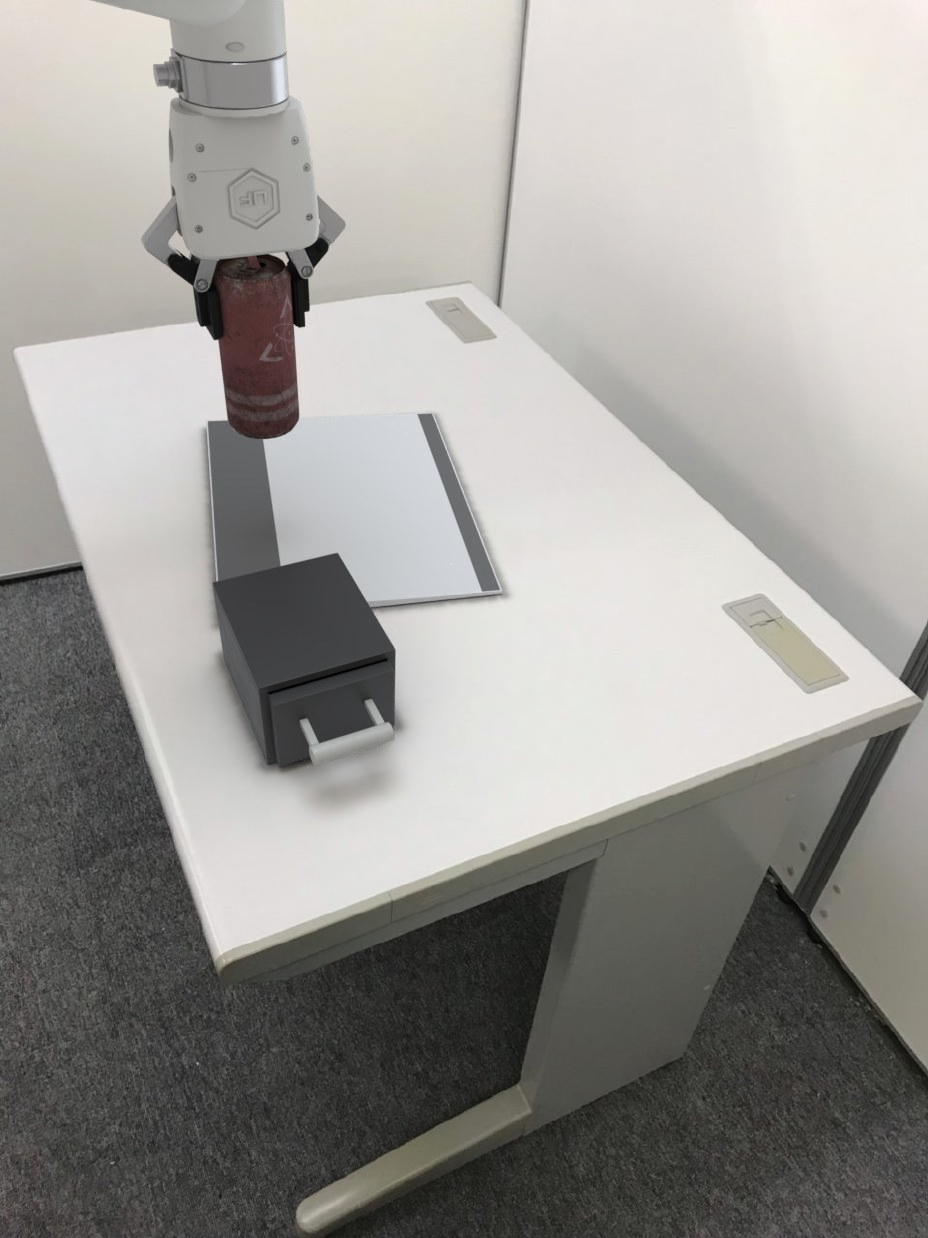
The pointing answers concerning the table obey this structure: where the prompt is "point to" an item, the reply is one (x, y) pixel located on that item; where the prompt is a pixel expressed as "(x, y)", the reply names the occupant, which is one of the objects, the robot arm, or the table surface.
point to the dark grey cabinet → (294, 632)
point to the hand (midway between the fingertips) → (255, 324)
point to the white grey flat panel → (349, 506)
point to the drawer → (333, 714)
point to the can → (257, 345)
